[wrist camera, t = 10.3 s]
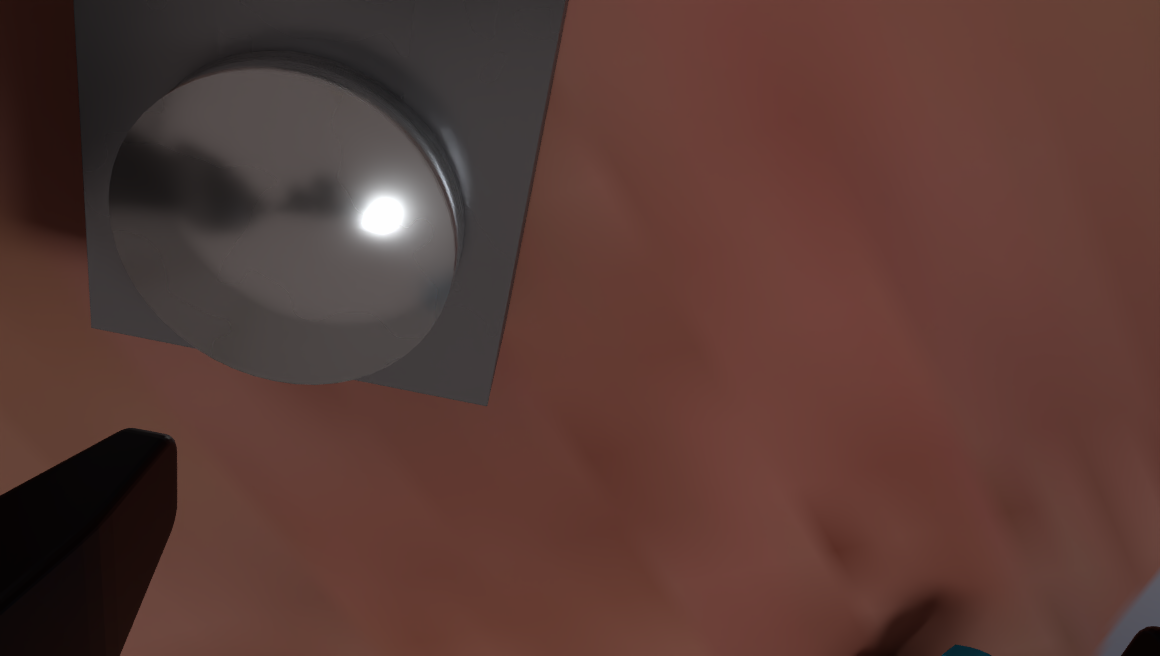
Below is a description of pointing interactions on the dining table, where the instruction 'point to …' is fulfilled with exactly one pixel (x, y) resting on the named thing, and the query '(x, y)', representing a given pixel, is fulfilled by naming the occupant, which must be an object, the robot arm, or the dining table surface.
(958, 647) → the gear
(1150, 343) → the dining table surface
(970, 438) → the dining table surface
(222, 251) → the block
